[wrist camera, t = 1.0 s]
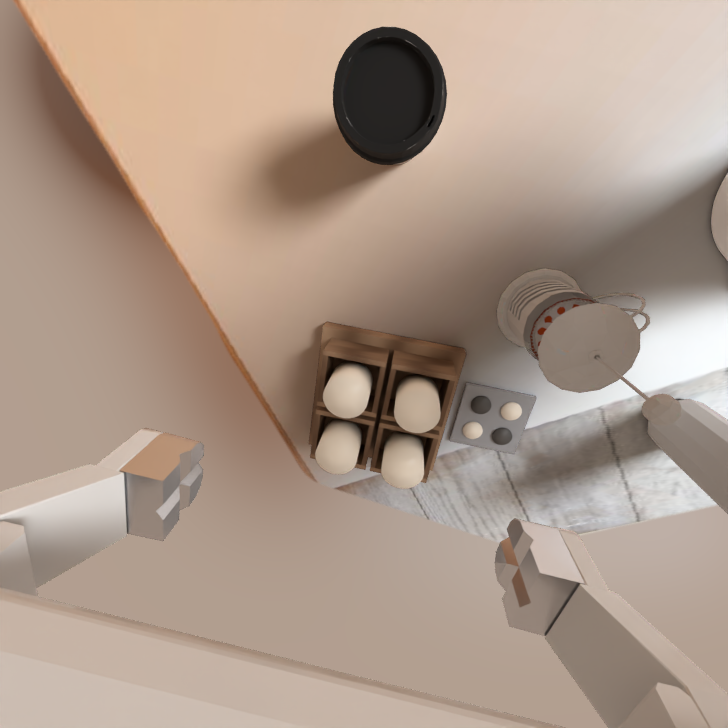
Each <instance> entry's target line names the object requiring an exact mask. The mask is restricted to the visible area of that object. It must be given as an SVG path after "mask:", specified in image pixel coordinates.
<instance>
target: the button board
mask: <svg viewBox="0 0 728 728" xmlns="http://www.w3.org/2000/svg"><path fill="white" fill-rule="evenodd" d="M465 356H466V352H465V349H464V348H459V347H454V346H448V345H443V344H438V343H433V342H428V341H423V340H418V339H413V338H407V337H402V336H397V335H392V334H387V333H382V332H377V331H371V330H366V329H361V328H356V327H351V326H346V325H341V324H336V323H330V322H326V323H325V324H324V325H323V330H322V338H321V346H320V355H319V363H318V371H317V379H316V388H315V396H314V404H313V412H312V421H311V429H310V437H309V444H311V445H312V447H311V455H310V458H313V459H316V457H315V452H316V449H317V447H318V444H319V442H320V439H321V437H322V435H323V432H324V430H325V427H326V425H327V424H328V423H329V422H330V421H331V420H333V419H335V418H338V419H343V420H348V421H353V422H356V423H357V424H358V425H359V426H360V428H361V430H362V441H361V445H360V449H359V454H358V458H357V462H356V465H355V468H360V469H364V470H365V469H366V464H367V459H368V457H371V458H372V461H371V467H370V471H373V472H378V473H381V467H382V460H383V453H384V445H385V441H386V439H387V437H388V436H389V435H390V434H391V433H393V432H395V431H400V432H405V433H410V434H415V435H418V436H419V437H420V439H421V440H422V442H423V452H424V476H423V479H422V481H421V482H424V483H426V481H427V477H428V474H429V470H433V466H434V463H435V459H436V456H437V452H438V449H439V446H440V442H441V439H442V435H443V432H444V428H445V425H446V422H447V418H448V415H449V411H450V408H451V404H452V401H453V398H454V394H455V391H456V387H457V384H458V380H459V377H460V374H461V370H462V367H463V363H464V360H465ZM345 361H356V362H360V363H362V364H364V365H365V366H366V367H367V368H368V369H369V370H370V372H371V374H372V378H373V384H372V388H371V392H370V396H369V400H368V403H367V407H366V409H365V410H364V412H363V413H361V414H360V415H359V416H357V417H354V418H341V417H338V416H336V415H334V414H332V413H331V412H330V411H329V410H328V409H327V407H326V406H325V404H324V401H323V392H324V389H325V387H326V385H327V383H328V381H329V379H330V377H331V376H332V374H333V372H334V370H335V368H336V367H337V366H338V365H339V364H341V363H342V362H345ZM412 374H421V375H426V376H428V377H430V378H431V379H432V380H433V381H434V382H435V384H436V385H437V388H438V395H439V403H440V412H441V415H440V419H439V422H438V423H437V425H436V426H435V427H434V428H433V429H431V430H429V431H427V432H424V433H412V432H409V431H406V430H404V429H403V428H402V427H400V426H399V424H398V423H397V422H396V419H395V416H394V408H395V399H396V390H397V386H398V384H399V382H400V381H401V380H402V379H403V378H405V377H406V376H408V375H412Z"/></svg>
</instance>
